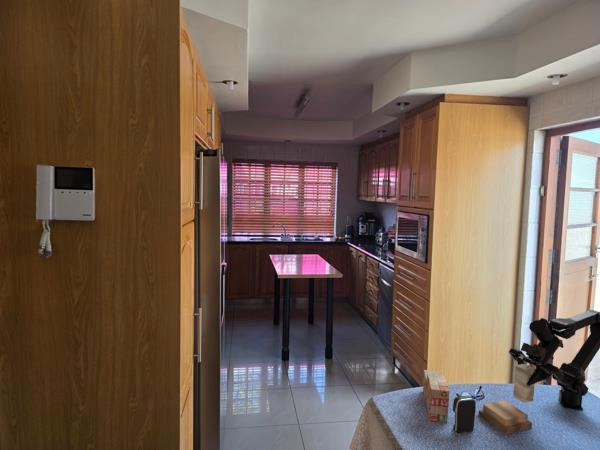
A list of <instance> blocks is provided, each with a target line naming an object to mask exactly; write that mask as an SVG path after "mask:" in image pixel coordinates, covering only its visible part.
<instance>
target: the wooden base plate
mask: <svg viewBox="0 0 600 450" xmlns="http://www.w3.org/2000/svg"><path fill="white" fill-rule="evenodd" d="M478 416H479V417H481V418H482V419H484V420H485V421H486V422H488V423H489V424H490V425H492V426H493V427H495V428H496V429H497V430H499V431H500V432H502V433H503V434H505V435H509V434H513V433H517V432H521V431H525V430H528V429H531V428H533V422H532V421H530V420H529V419H527V422H524V423H520V424H515V425H510V426H506V427H505V426H503V425H502V424H501V423H499V422H498V421H496V420H495V419H494V418H492V417H491V416H489V415H488V414H487V413H485V412H484V411H483V409H479V410H478Z"/></svg>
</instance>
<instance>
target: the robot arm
mask: <svg viewBox="0 0 600 450" xmlns="http://www.w3.org/2000/svg"><path fill="white" fill-rule="evenodd" d="M586 327H589V335H588V337H587V338H586V340H585V341H584V343H582V345H581V347H580V349H579V350H578V351H577V353H576V354H575V356H574V358H573V359H572V360H571V361H570V362H568V363H566V362H562V363H561V366H560V367H558V366H555V365H553V364H551V363H549V361H550V360H551V361H553V360H554V356H553V355H554V354H555V353H556V351H557V350H558V349H559V348H562V349H564V343H563V339H565V340H569V339H570V338H572V337H573V336H575V335H576V332H577V331H579V330H581V329H583V328H586ZM529 331H531V332H532V335H534V337H535V338H536V339H537V340H538V343H537V344H536V343H534V344H533V345H531V344H528V343H526V342H523V343H522V346H521V348H520V349H518V348H516V347H511V348H510V349H509V350H508V354H510V356H511V358H512V359H513V360H514V361H515V362H517V365H520V364H526V365H532V367H533V366H534V367H535V369H536V370H535V372H534V374H533V375H532V377H531V378H530V379H529V381H528V383H527V385H528V386H530V385H533V384H534V385H535V384H537V383H539V382H542V381H545V380H551V378H552V380H555V381H556V385H557V386H559V387H561V388H560V389H559V392H558V401H559V402H560V404H561V405H562V406H563V408H568V409H574V410H581V411H583V410H584V407H583V405H582V403H583V397H584V396H586V395H587V394H588V392H589V387H588V386H587V385H586V383H585V382H586V375H585V373H586V369H587V368H588V367H589V365H590V364H591V363H592V360H593V359H594V358H595V357H596V355H597V353H598V352H599V350H600V311H598V310H594V309H586V311H584V312H582V313H578V314H576V315H573V316H570V317H567V318H562V317H559V318H552V319H550V321H548V320H547V319H546V318H543V317H541V318H540V319H537V320H536V319H535V320H533V321H531V322H530V324H529ZM559 337H560V338H559ZM561 338H562V339H561ZM524 352H525V354H526V355H525V354H524Z"/></svg>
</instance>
